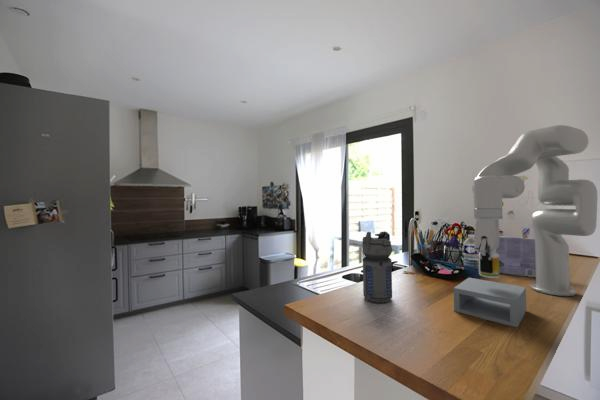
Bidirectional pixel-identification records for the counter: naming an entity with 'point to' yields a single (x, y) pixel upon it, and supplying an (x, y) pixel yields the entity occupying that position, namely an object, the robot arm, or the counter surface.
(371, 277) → the beverage bottle
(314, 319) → the counter surface
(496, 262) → the supplement bottle
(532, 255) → the cake pan box
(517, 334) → the counter surface
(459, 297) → the shelf unit
